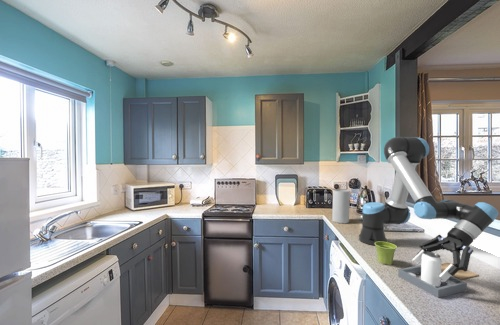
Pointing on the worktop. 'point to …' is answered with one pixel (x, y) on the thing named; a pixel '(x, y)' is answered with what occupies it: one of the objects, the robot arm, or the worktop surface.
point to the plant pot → (385, 252)
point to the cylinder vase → (341, 206)
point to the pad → (459, 272)
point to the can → (431, 268)
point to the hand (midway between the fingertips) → (427, 270)
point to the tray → (451, 288)
